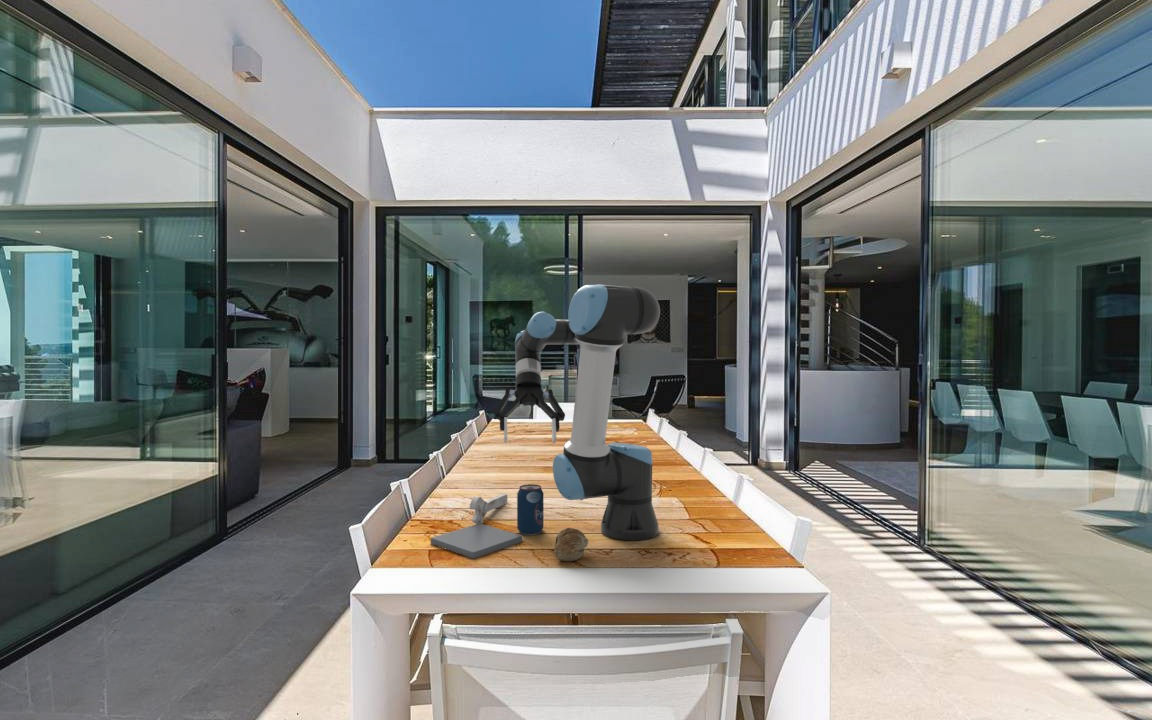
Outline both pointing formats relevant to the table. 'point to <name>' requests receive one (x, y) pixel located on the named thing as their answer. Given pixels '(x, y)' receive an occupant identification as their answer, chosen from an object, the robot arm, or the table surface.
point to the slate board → (476, 540)
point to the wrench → (485, 506)
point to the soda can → (530, 509)
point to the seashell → (570, 544)
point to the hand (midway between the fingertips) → (530, 440)
